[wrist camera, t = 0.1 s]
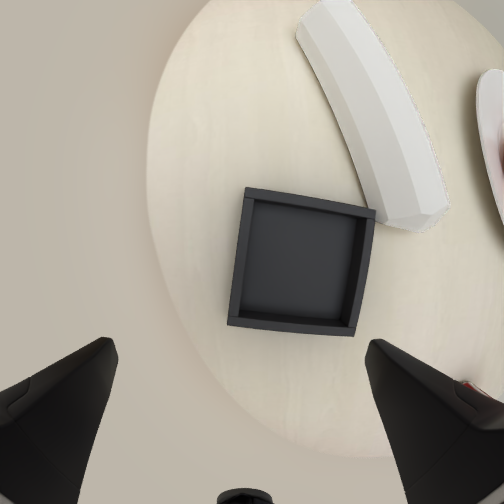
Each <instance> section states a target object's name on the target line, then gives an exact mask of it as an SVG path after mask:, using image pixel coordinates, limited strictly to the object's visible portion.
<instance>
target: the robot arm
mask: <svg viewBox="0 0 504 504" xmlns="http://www.w3.org/2000/svg"><path fill="white" fill-rule="evenodd" d="M117 364H118V354H117V351H116V348H115V345H114V342H113V340H112V339H111V338H107V337H100V338H99V339H97V340H95V341H93V342H91V343H90V344H88V345H86V346H84V347H82V348H81V349H79V350H77V351H75V352H73V353H72V354H70V355H68V356H66V357H65V358H63V359H61V360H59V361H57V362H55V363H54V364H52V365H50V366H48V367H46V368H45V369H43V370H41V371H40V372H38V373H36V374H34V375H32V376H31V377H28V378H27V379H25V380H23V381H21V382H19V383H18V384H16V385H14V386H12V387H9V388H8V389H5V390H3V391H1V392H0V504H77V502H78V498H79V494H80V489H81V485H82V481H83V478H84V474H85V470H86V467H87V463H88V460H89V456H90V453H91V450H92V446H93V443H94V440H95V437H96V434H97V430H98V428H99V425H100V422H101V419H102V416H103V413H104V410H105V407H106V405H107V402H108V398H109V396H110V392H111V388H112V384H113V380H114V376H115V372H116V368H117ZM365 366H366V369H367V373H368V377H369V381H370V385H371V389H372V393H373V397H374V400H375V403H376V406H377V408H378V411H379V414H380V417H381V420H382V422H383V425H384V428H385V431H386V434H387V437H388V440H389V443H390V446H391V449H392V452H393V455H394V458H395V461H396V464H397V467H398V471H399V473H400V477H401V480H402V483H403V487H404V491H405V495H406V498H407V502H408V504H504V403H502V402H499V401H497V400H495V399H493V398H490V397H488V396H486V395H483V394H481V393H479V392H477V391H475V390H473V389H471V388H469V387H467V386H465V385H463V384H461V383H459V382H458V381H456V380H453V379H452V378H450V377H449V376H447V375H445V374H443V373H441V372H440V371H438V370H436V369H434V368H433V367H431V366H429V365H427V364H425V363H424V362H422V361H420V360H418V359H417V358H415V357H413V356H411V355H410V354H408V353H406V352H404V351H403V350H401V349H399V348H397V347H395V346H394V345H392V344H390V343H388V342H387V341H385V340H383V339H373V340H371V341H370V343H369V346H368V349H367V353H366V356H365ZM220 504H274V503H271V502H268V501H265V500H262V499H259V498H256V497H253V496H251V495H248V494H245V493H239V494H237V495H235V496H233V497H231V498H229V499H227V500H225V501H224V502H222V503H220Z"/></svg>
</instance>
